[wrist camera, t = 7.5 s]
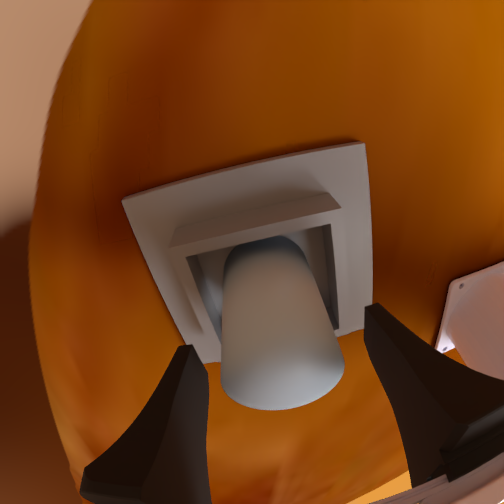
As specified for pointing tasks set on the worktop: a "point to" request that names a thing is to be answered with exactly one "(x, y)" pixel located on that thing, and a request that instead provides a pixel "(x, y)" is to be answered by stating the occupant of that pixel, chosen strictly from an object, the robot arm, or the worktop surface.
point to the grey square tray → (259, 234)
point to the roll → (275, 328)
